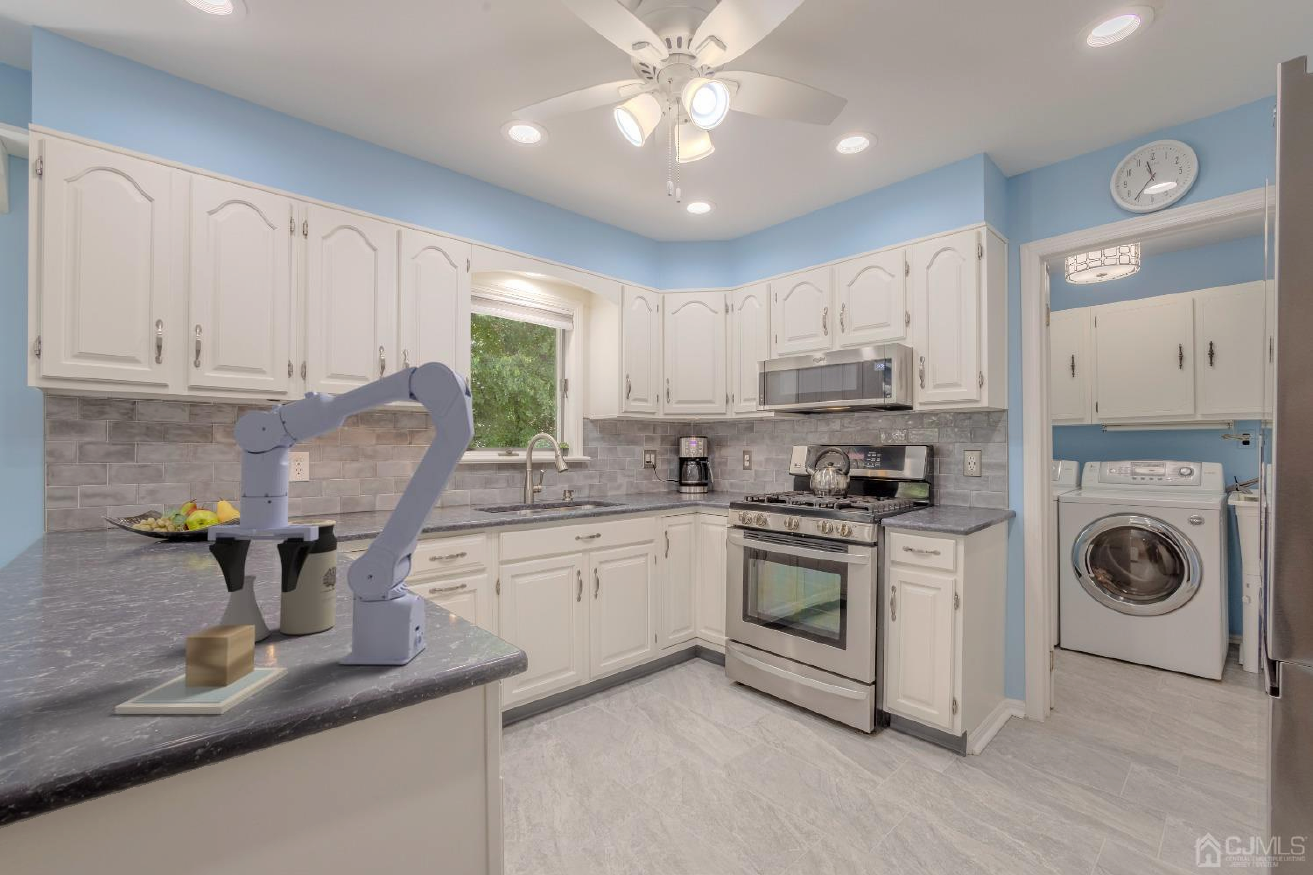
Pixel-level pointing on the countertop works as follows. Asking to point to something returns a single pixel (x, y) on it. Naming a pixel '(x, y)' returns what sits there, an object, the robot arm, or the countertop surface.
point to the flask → (245, 609)
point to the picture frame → (200, 695)
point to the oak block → (219, 655)
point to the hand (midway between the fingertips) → (262, 590)
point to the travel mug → (313, 586)
